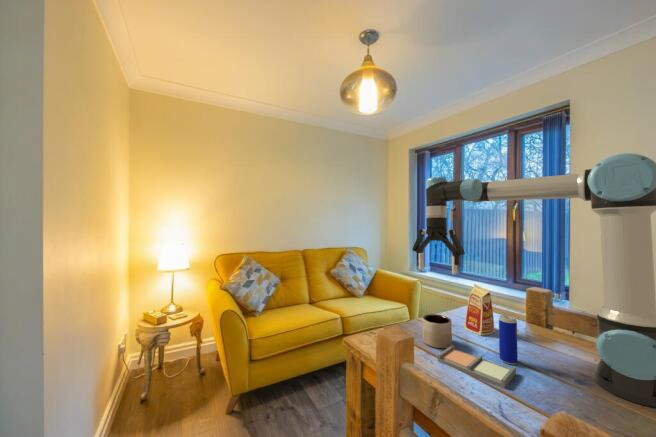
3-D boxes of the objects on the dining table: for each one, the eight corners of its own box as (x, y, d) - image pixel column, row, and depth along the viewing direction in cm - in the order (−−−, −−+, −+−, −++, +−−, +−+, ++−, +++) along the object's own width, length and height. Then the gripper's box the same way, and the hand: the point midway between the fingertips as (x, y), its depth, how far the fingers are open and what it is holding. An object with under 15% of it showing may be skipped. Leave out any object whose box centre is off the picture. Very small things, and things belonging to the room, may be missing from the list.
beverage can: (520, 365, 88) (519, 320, 89) (503, 364, 89) (502, 319, 90) (513, 358, 93) (512, 315, 94) (496, 356, 95) (496, 314, 95)
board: (516, 373, 84) (515, 366, 84) (504, 388, 77) (504, 380, 77) (452, 350, 99) (452, 344, 99) (437, 361, 92) (437, 354, 92)
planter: (446, 337, 111) (446, 314, 111) (456, 350, 100) (456, 324, 100) (419, 336, 112) (419, 313, 112) (426, 349, 101) (426, 323, 101)
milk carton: (464, 328, 119) (463, 284, 119) (477, 325, 123) (477, 281, 123) (483, 336, 111) (482, 288, 111) (497, 332, 114) (496, 286, 115)
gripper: (474, 216, 98) (474, 274, 97) (413, 217, 117) (414, 265, 116) (465, 216, 93) (466, 277, 93) (403, 217, 112) (404, 268, 112)
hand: (437, 271), depth 105 cm, fingers open, 13 cm apart
